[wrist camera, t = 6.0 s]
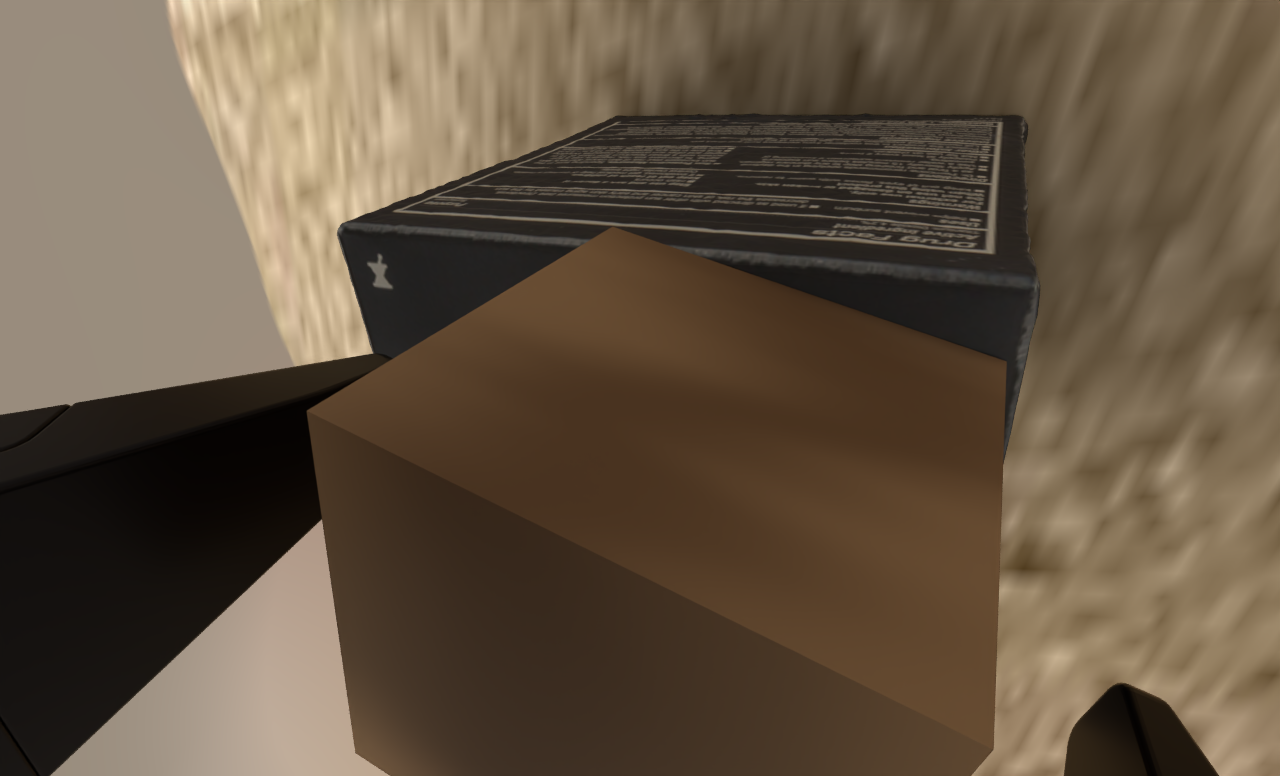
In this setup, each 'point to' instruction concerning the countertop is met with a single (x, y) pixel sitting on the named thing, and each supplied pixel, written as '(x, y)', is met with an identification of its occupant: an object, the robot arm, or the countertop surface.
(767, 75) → the countertop surface
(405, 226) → the small box
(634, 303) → the block
